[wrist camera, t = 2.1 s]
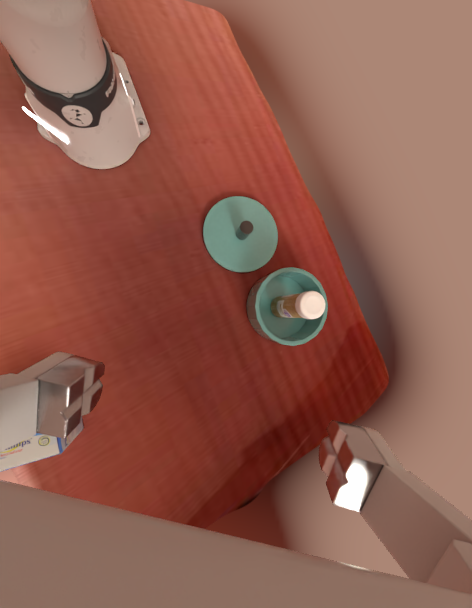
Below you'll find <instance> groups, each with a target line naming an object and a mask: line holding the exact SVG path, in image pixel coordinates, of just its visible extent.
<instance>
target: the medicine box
mask: <svg viewBox="0 0 472 608" xmlns="http://www.w3.org/2000/svg"><path fill="white" fill-rule="evenodd" d="M83 428H84V427H83V421H82V416H81V419H80V423H79V425H78V426H77V427H76V428H75V429H74V430H73V431H72V432H71V433H70V434H69V435H68V436H67V437H66V438H65V439H63V438H58V437H54V436H49V435H44V434H39V433H36V435H34V436H32V437H30V438H28V439H26V440H23V441H21V442H19V443H17V444H15V445H13V446H11V447H9V448H7V449H5V450H3V451H1V452H0V472H1V471H4V470H8V469H11V468H14V467H18V466H21V465H25V464H28V463H31V462H35V461H38V460H41V459H45V458H48V457H52V456H55V455H58V454H61V453H62V452H63V451H64V450H65V449H66V448H67V447H68V445H69V444H70V443H71V442H72V441H73V440H74V438H75V437H76V436H77V435H78V434H79V433H80V432H81V431H82V429H83Z"/></svg>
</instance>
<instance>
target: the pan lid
mask: <svg viewBox="0 0 472 608" xmlns="http://www.w3.org/2000/svg"><path fill="white" fill-rule="evenodd" d="M203 239H204V243H205V246H206V249H207V251H208V252H209V254H210V255H211V257H212V258H213V259H214V260H215V261H216V262H217V263H218V264H219V265H221V266H222V267H224V268H226V269H228V270H230V271H234V272H240V273H245V272H251V271H254V270H257V269H259V268H261V267H262V266H264V265H265V264H266V263H267V262H268V261H269V260H270V259H271V258H272V256H273V254H274V252H275V250H276V247H277V241H278V233H277V227H276V224H275V221H274V219H273V217H272V215H271V214H270V212H269V211H268V210H267V209H266V208H265V207H264V206H263V205H262V204H260V203H259V202H257V201H255V200H253V199H251V198H247V197H242V196H234V197H229V198H225V199H223V200H221V201H219V202H218V203H217V204H215V205H214V206H213V207H212V208H211V209H210V211H209V212H208V214H207V216H206V219H205V222H204V226H203Z"/></svg>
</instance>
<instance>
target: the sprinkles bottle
mask: <svg viewBox="0 0 472 608" xmlns="http://www.w3.org/2000/svg"><path fill="white" fill-rule="evenodd" d="M324 310H325V300H324V298H323V296H322V295H321V294H320V293H318V292H316V291H306V292H303V293H300V294H292V295H286V296H279V297H276V298H275V299H273V301H272V303H271V311H272V313H273V314H274V315H275V316H276V317H280V318H283V317H286V318H305V319H316V318H319V317H320V316H321V315H322V314H323V313H324Z"/></svg>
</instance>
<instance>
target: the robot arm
mask: <svg viewBox="0 0 472 608" xmlns="http://www.w3.org/2000/svg"><path fill="white" fill-rule="evenodd" d="M0 41H1V43H2V44H3V45H4V47H5V48H6V50H7V51H8V53H9V55H10V58H11V61H12V63H13V65H14V67H15V69H16V71H17V73H18V75H19V77H20V78H21V80H22V81H23V83H24V84H25V86H26V93H25V97H26V100H27V101H28V103H29V105H30V106H31V108H32V109H33V111H34V112H35V114H36V116H37V117H36V116H35V115H34V114H32V113H31V112H30V111H29V110H27V109H26V108H25V107H22V108H23V110H24V111H25V112H26V113H27V114H28V115H29V116H31V117H32V118H33V119H35V120H36V121H37V122H38V123H37V129H38V131H39V133H40V134H41V136H42V137H44V138H45V139H47V140H48V141H50V142H52V143H54V144H56V145H57V146H59V147H60V148H61V149H62V150H63V152H64V153H65V154H66V155H67V156H69V157H70V158H71V159H72V160H74V161H75V162H77V163H79V164H81V165H84V166H86V167H90V168H95V169H109V168H114V167H117V166H119V165H121V164H123V163H125V162H126V161H127V160H128V159H130V157H131V156H132V155H133V154H134V152H135V150H136V148H137V147H138V145H139V144H140V143H141V142H142V141H144V140H145V139H147V138H148V137H149V136H150V133H151V132H150V128H149V125H148V123H147V120H146V117H145V115H144V112H143V109H142V106H141V104H140V101H139V98H138V96H137V93H136V90H135V88H134V85H133V82H132V80H131V77H130V74H129V72H128V69H127V66H126V64H125V61H124V59H123V58H122V57H120V56H119V55H117V54H115V53H113V52H112V51H111V49H110V46H109V43H108V42H107V41H106V40H105V39H104V38H103V37H101V35H100V31H99V28H98V24H97V21H96V17H95V14H94V11H93V7H92V4H91V1H90V0H0ZM141 123H142V124H143V125H140V124H141ZM104 369H105V365H104V364H103V363H102V362H99V361H95V360H91V359H88V358H84V357H80V356H77V355H73V354H69V353H65V352H56V353H54V354H52V355H50V356H49V357H47V358H45V359H43V360H41V361H40V362H38V363H36V364H34V365H32V366H31V367H29V368H27V369H25V370H23V371H22V372H20V373H18V374H12V373H10V374H5V375H0V452H1V451H3V450H5V449H7V448H9V447H11V446H13V445H15V444H17V443H19V442H21V441H23V440H26V439H28V438H30V437H32V436H34V435H36V433H39V434H44V435H49V436H54V437H58V438H63V439H65V438H66V437H67V436H68V435H69V434H70V433H71V432H72V431H73V430H74V429H75V428H76V427H77V426H78V425H79V423H80V419H81V416H83V415H86V414H88V413H90V412H91V411H92V410H93V408H94V407H95V406H96V404H97V402H98V401H99V399H100V396H101V393H102V387H103V385H102V383H101V381H100V380H99V378H100V377H102V376H103V375H104ZM327 432H328V435H329V436H327V437H326V438H324V439H323V440H322V442H321V445H320V447H319V463H320V466H321V470H322V471H323V472H324V473H325V475H326V476H327V477H328V479H327V482H326V485H327V488H328V491H329V494H330V497H331V500H332V503H333V505H337V506H340V507H344V508H347V509H351V510H355V511H359V512H360V514H361V516H362V517H363V518H364V519H365V521H366V522H367V523H368V525H369V526H370V527H371V529H372V530H373V531H374V533H375V534H376V535H377V537H378V538H379V539H380V541H381V542H382V543H383V544H384V546H385V547H386V548H387V550H388V551H389V552H390V554H391V555H392V556H393V558H394V559H395V560H396V561H397V563H398V564H399V565H400V567H401V568H402V569H403V571H404V572H405V573H406V574H407V576H408V577H409V579H407V578H403V577H399V576H395V575H391V574H386V573H383V572H379V571H374V570H370V569H366V568H362V567H358V566H354V565H350V564H346V563H341V562H337V561H333V560H329V559H325V558H321V557H317V556H313V555H308V554H304V553H300V552H296V551H292V550H288V549H284V548H280V547H276V546H271V545H267V544H263V543H259V542H255V541H251V540H247V539H243V538H238V537H235V536H230V535H225V534H221V533H218V532H214V531H210V530H206V529H201V528H197V527H193V526H189V525H185V524H181V523H177V522H173V521H168V520H164V519H160V518H156V517H152V516H148V515H144V514H140V513H135V512H131V511H127V510H123V509H119V508H115V507H111V506H107V505H102V504H98V503H94V502H90V501H86V500H82V499H78V498H73V497H69V496H65V495H61V494H57V493H53V492H49V491H45V490H40V489H36V488H32V487H28V486H24V485H20V484H16V483H11V482H7V481H3V480H0V608H472V520H471V519H469V518H468V517H467V516H466V515H464V514H463V513H462V512H460V511H459V510H458V509H457V508H455V507H454V506H453V505H452V504H450V503H449V502H448V501H447V500H445V499H444V498H443V497H442V496H440V495H439V494H438V493H437V492H435V491H434V490H433V489H431V488H430V487H429V486H428V485H426V484H425V483H424V482H422V481H421V480H420V479H419V478H418V477H416V476H415V475H414V474H413V473H411V472H410V471H406V470H405V469H404V468H403V466H402V465H401V463H400V462H399V460H398V459H397V458H396V456H395V455H394V453H393V452H392V450H391V449H390V447H389V446H388V445H387V443H386V442H385V440H384V439H383V437H382V436H381V435H380V433H379V432H378V431H376V430H375V429H371V428H367V427H362V426H356V425H352V424H348V423H343V422H339V421H335V420H332V421H331V422H330V423H329V425H328V427H327Z"/></svg>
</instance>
